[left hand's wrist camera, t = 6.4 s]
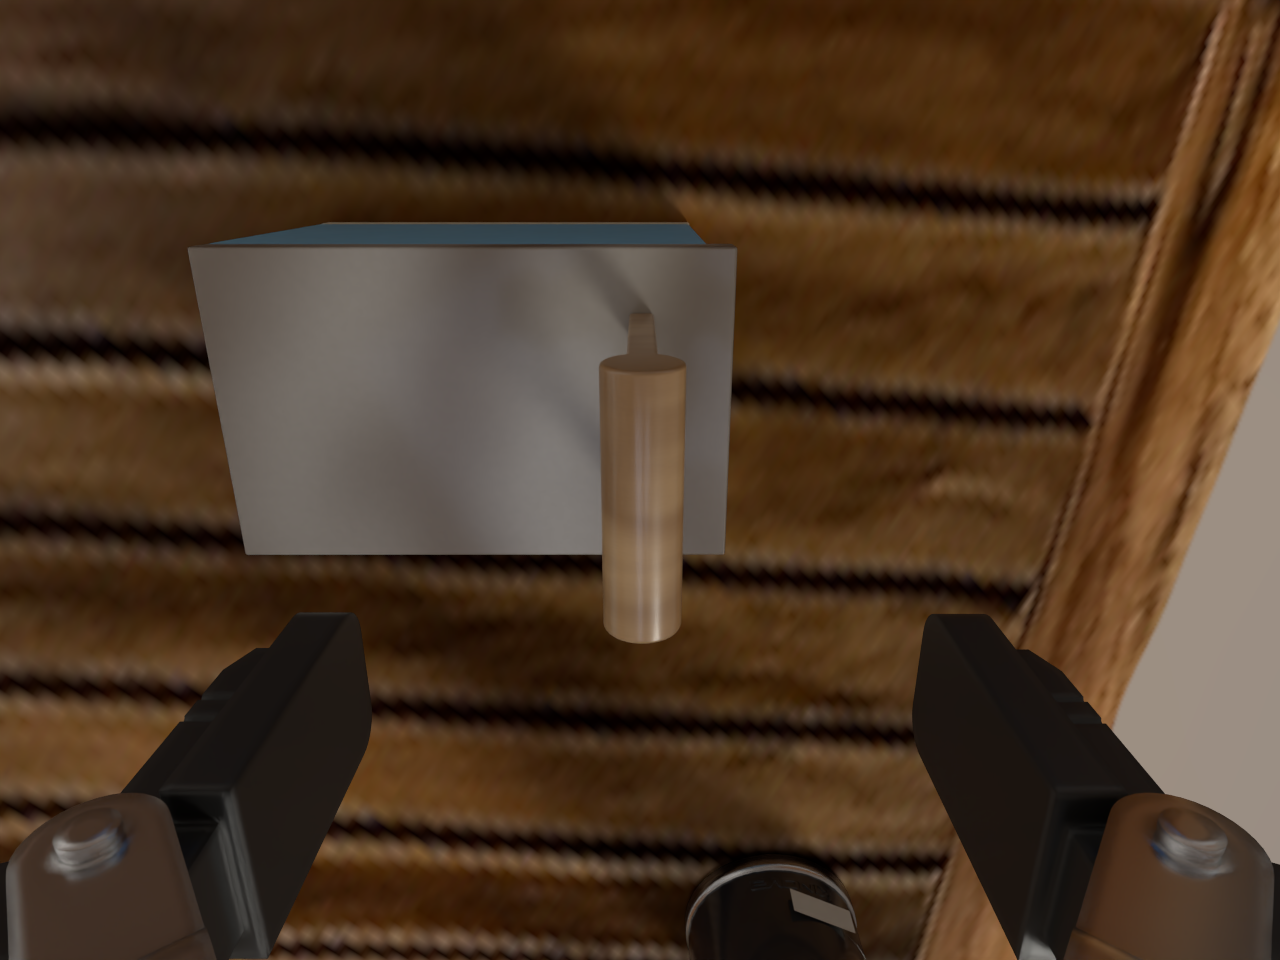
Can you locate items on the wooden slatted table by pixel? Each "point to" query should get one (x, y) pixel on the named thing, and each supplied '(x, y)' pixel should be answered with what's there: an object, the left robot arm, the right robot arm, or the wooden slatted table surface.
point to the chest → (481, 233)
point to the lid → (480, 403)
